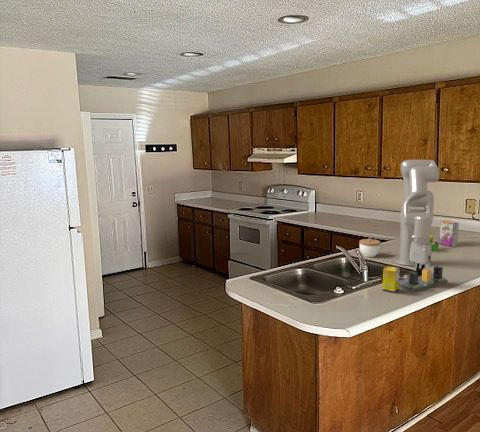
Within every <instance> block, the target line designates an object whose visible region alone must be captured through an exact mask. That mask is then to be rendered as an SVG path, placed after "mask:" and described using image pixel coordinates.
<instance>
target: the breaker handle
mask: <svg viewBox="0 0 480 432" xmlns="http://www.w3.org/2000/svg"><path fill="white" fill-rule="evenodd" d="M431 273H432V269H429V268H423V270H422V281H425V282H427V281H430V280H431Z"/></svg>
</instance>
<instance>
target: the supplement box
mask: <svg viewBox="0 0 480 432" xmlns="http://www.w3.org/2000/svg"><path fill="white" fill-rule="evenodd" d="M399 277H400V267H396V266H389V265H387V266H386V267H384V268H383V270H382V291H383V292H387V293H393V294H394V293H396V292H398V290H399V288H400V287H399Z"/></svg>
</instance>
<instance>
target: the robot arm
mask: <svg viewBox="0 0 480 432" xmlns="http://www.w3.org/2000/svg"><path fill="white" fill-rule="evenodd" d="M437 165H438V164H437V163H436V162H435V161H434V160H432V159H406V160H403V161H402V162H401V164H400V172H401V176H402V179H403V202H402V204H401V205H402V206H401V211H400V213H399V222H400V223H399V224H400V232H399V233H400V234H399V235H400V236H399V237H400V238H399V254H398V258H397V259H395V262H396V264H398V265H401V266H402V265H403V266H411V267H413V266H414V267H415V272H417V273H418V276H422V270H423V269H426V268H428V267H429V268H430V267H431V262H432V251H431V244H430V233H431V234H432V229H431V228H432V224H433V219H434V203H435V201H434V200H435V199H434V198H435V197H434V193H433V191H431V190H428V183H437V182H438V181H439V178H440V171H439V167H438V166H437ZM409 207H410V208H409ZM411 207H412V208H411ZM414 208H415V209H414ZM416 208H423V209H416Z"/></svg>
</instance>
